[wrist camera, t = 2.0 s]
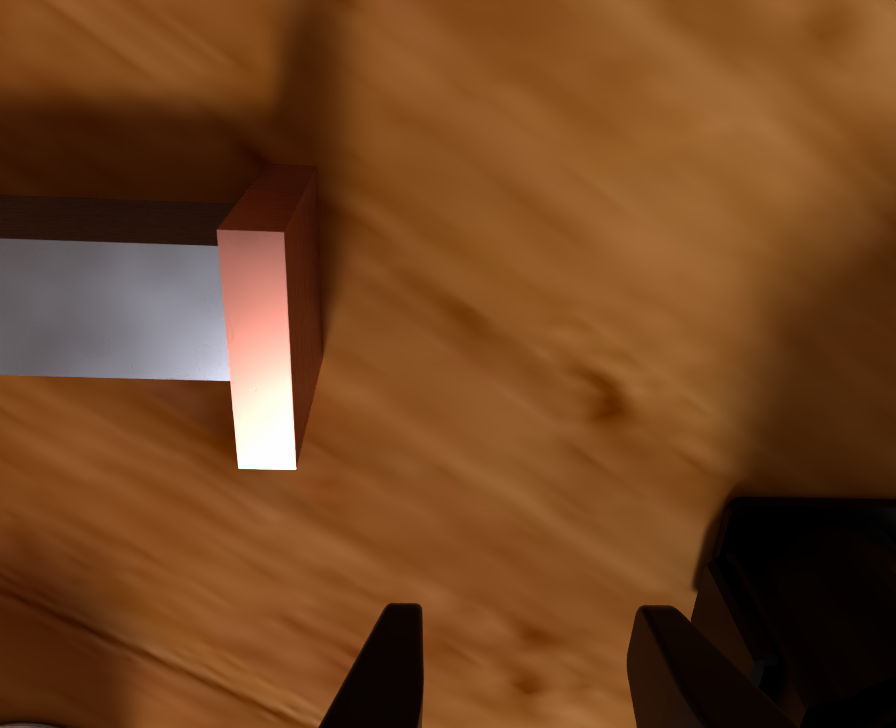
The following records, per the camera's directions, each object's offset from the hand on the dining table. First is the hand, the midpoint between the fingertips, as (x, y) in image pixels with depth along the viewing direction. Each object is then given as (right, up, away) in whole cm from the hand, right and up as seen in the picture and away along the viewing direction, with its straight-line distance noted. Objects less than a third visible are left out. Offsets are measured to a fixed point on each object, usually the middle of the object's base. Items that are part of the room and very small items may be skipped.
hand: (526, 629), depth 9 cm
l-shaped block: (-9, +6, +10) cm, 15 cm away
